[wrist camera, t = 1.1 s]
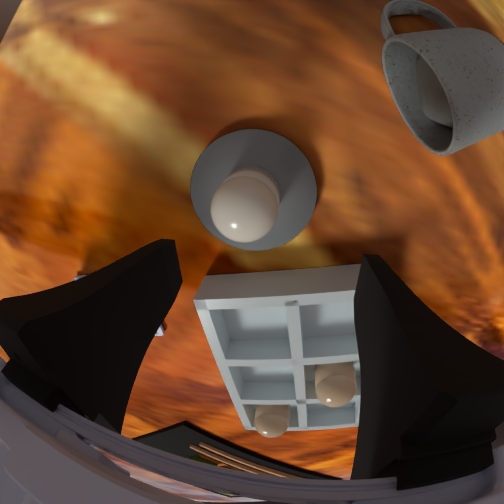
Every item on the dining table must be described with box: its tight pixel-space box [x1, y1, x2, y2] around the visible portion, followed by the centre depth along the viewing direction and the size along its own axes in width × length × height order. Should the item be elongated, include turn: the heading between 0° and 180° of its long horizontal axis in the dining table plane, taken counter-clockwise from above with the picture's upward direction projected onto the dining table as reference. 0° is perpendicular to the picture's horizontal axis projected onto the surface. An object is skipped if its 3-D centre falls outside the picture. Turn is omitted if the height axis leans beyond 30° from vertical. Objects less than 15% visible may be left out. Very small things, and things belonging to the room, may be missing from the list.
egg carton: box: [193, 264, 361, 431], centre depth 27 cm, size 15×22×4 cm
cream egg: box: [210, 166, 281, 243], centre depth 17 cm, size 4×4×5 cm
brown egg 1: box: [254, 404, 290, 438], centre depth 29 cm, size 4×4×5 cm
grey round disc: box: [190, 128, 317, 251], centre depth 20 cm, size 9×9×1 cm
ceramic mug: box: [380, 0, 504, 156], centre depth 11 cm, size 11×8×8 cm
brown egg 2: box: [315, 361, 357, 407], centre depth 24 cm, size 4×4×5 cm
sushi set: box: [132, 421, 342, 497], centre depth 54 cm, size 45×45×4 cm
